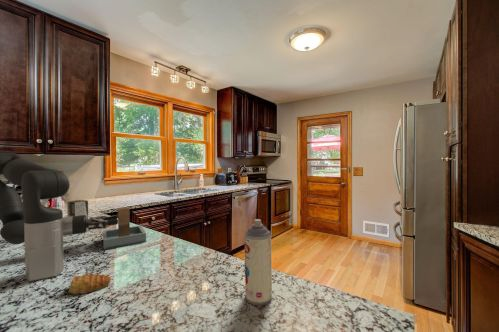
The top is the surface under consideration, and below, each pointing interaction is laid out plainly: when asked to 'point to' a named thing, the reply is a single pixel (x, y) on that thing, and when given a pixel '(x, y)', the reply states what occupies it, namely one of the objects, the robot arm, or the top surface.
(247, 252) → the aerosol can
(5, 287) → the top surface
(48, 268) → the robot arm
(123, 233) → the walnut block
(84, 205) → the coffee box
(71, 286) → the pastry
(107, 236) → the slate tray
